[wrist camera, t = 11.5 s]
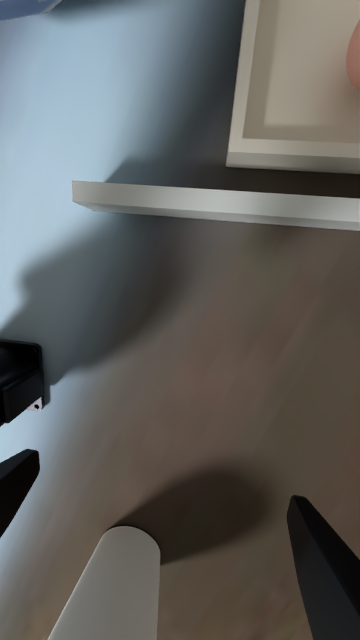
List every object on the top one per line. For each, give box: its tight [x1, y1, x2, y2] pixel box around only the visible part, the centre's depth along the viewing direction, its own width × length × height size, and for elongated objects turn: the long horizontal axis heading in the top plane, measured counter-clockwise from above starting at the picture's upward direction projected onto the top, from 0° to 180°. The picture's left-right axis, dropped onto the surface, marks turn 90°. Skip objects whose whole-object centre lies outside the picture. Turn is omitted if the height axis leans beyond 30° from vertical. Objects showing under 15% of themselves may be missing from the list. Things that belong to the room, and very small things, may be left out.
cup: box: [48, 526, 160, 640], centre depth 20 cm, size 9×9×12 cm
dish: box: [226, 0, 360, 174], centre depth 14 cm, size 10×10×2 cm
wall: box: [72, 181, 360, 231], centre depth 16 cm, size 20×1×3 cm, turn 85°
